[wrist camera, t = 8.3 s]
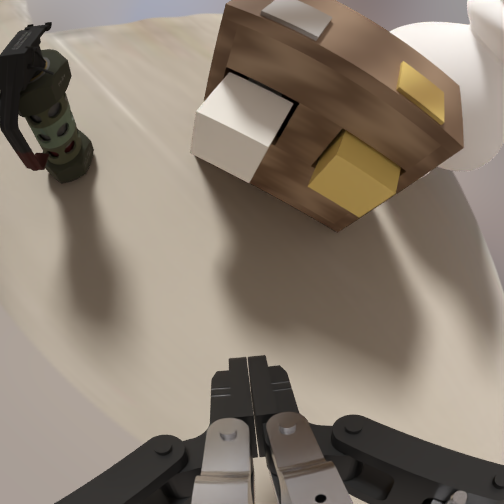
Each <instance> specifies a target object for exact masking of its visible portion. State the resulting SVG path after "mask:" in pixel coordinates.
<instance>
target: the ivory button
mask: <svg viewBox="0 0 504 504" xmlns="http://www.w3.org/2000/svg"><path fill="white" fill-rule="evenodd" d="M281 96H282V93H280V92H278V91H276V90H274V89H272V88H270V87H268V86H266V85H264V84H262V83H260V82H258V81H256V80H254V79H252V78H249V79H248V80H246V79H244V78H242V77H239V76H237V75H235V74H233V73H231V72H229V73H228V75H227V76H226V77H225V78H224V79H223V80H222V81H221V82H220V84H219V85H218V86H217V87H216V88H215V89H214V91H213V92H212V93H211V94H210V95H209V97H208V98H207V99H206V100H205V101H204V103H203V104H202V105H201V106H200V107H199V109H198V110H197V111H196V116H195V122H194V129H193V135H192V142H191V149H190V153H191V154H193V155H195V156H197V157H199V158H201V159H203V160H205V161H207V162H209V163H211V164H213V165H215V166H217V167H219V168H221V169H223V170H224V171H226V172H228V173H230V174H232V175H234V176H236V177H238V178H240V179H242V180H244V181H245V182H247V183H249V182H250V181H251V179H252V177H253V175H254V173H255V172H256V170H257V168H258V166H259V164H260V163H261V161H262V159H263V157H264V156H265V154H266V152H267V150H268V148H269V147H270V145H271V143H272V141H273V140H274V138H275V136H276V134H277V132H278V131H279V129H280V127H281V125H282V123H283V122H284V120H285V118H286V116H287V114H288V113H289V111H290V109H291V107H292V106H293V103H292V102H290V101H288V100H286V99H284V98H282V97H281Z"/></svg>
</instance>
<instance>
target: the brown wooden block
mask: <svg viewBox="0 0 504 504" xmlns="http://www.w3.org/2000/svg"><path fill="white" fill-rule="evenodd" d="M229 72H231V73H233V74H235V75H237V76H239V77H242V78H244V79H246V80H248V79H249V78H252V79H254V80H256V81H258V82H260V83H262V84H264V85H266V86H268V87H270V88H272V89H274V90H276V91H278V92H280V93H282V96H281V97H282V98H284V99H286V100H288V101H290V102H292V103H293V106H292V107H291V109H290V111H289V113H288V114H287V116H286V118H285V120H284V122H283V123H282V125H281V127H280V129H279V131H278V132H277V134H276V136H275V138H274V140H273V141H272V143H271V145H270V147H269V148H268V150H267V152H266V154H265V156H264V157H263V159H262V161H261V163H260V164H259V166H258V168H257V170H256V172H255V173H254V175H253V177H252V179H251V181H250V182H249V183H250V184H252V185H254V186H256V187H258V188H260V189H262V190H263V191H265V192H267V193H269V194H271V195H273V196H274V197H276V198H278V199H280V200H282V201H283V202H285V203H287V204H289V205H291V206H292V207H294V208H296V209H298V210H300V211H301V212H303V213H305V214H307V215H308V216H310V217H312V218H314V219H315V220H317V221H319V222H320V223H322V224H324V225H326V226H327V227H329V228H331V229H332V230H334V231H336V232H339V231H341V230H342V229H344V228H345V227H347V226H348V225H350V224H352V223H353V222H355V221H356V220H358V219H359V218H361V217H362V216H364V215H365V214H367V213H368V212H367V213H365V214H364V215H362V216H361V217H357V216H356V215H354V214H353V213H351V212H349V211H348V210H346V209H344V208H343V207H341V206H340V205H338V204H336V203H335V202H333V201H331V200H330V199H328V198H326V197H325V196H323V195H321V194H320V193H318V192H316V191H314V190H313V189H311V188H309V187H308V184H309V182H310V179H311V177H312V175H313V172H314V170H315V168H316V165H317V163H318V161H319V158H320V156H321V154H322V152H323V151H324V150H325V149H326V148H327V146H328V145H329V144H330V143H331V142H332V140H333V139H334V138H335V137H336V136H337V134H338V133H339V132H340V131H341V130H342V128H343V129H345V130H347V131H348V132H350V133H351V134H353V135H355V136H356V137H358V138H359V139H361V140H362V141H364V142H365V143H367V144H368V145H370V146H371V147H373V148H374V149H376V150H377V151H379V152H380V153H382V154H383V155H384V156H386V157H387V158H389V159H390V160H392V161H393V162H394V163H396V164H397V165H398V166H400V167H401V170H400V175H399V180H398V185H397V189H396V194H397V193H399V192H400V191H402V190H403V189H405V188H406V187H408V186H409V185H411V184H412V183H413V182H415V181H416V180H418V179H419V178H421V177H422V176H424V175H425V174H427V173H428V172H430V171H431V170H433V169H434V168H436V167H437V166H438V165H440V164H441V163H443V162H444V161H446V160H447V159H449V158H450V157H452V156H453V155H454V154H456V153H457V152H459V151H460V150H462V149H463V148H464V135H463V117H462V104H461V94H460V86H459V85H458V84H457V83H456V82H455V81H453V80H452V79H451V78H450V77H449V76H448V75H446V74H445V73H444V72H443V71H442V70H440V69H439V68H438V67H437V66H435V65H434V64H433V63H432V62H430V61H429V60H428V59H427V58H425V57H424V56H423V55H421V54H420V53H419V52H417V51H416V50H415V49H413V48H412V47H411V46H409V45H408V44H406V43H405V42H404V41H402V40H401V39H399V38H398V37H396V36H395V35H393V34H392V33H390V32H389V31H387V30H386V29H384V28H383V27H381V26H379V25H378V24H376V23H375V22H373V21H371V20H370V19H368V18H366V17H365V16H363V15H361V14H359V13H358V12H356V11H354V10H352V9H351V8H349V7H347V6H345V5H343V4H341V3H339V2H338V1H336V0H231V1H229V2H228V3H226V5H225V9H224V13H223V17H222V21H221V25H220V29H219V33H218V37H217V42H216V46H215V50H214V55H213V59H212V64H211V68H210V73H209V78H208V82H207V87H206V92H205V97H204V101H205V100H206V99H207V98H208V97H209V95H210V94H211V93H212V92H213V91H214V89H215V88H216V87H217V86H218V85H219V84H220V82H221V81H222V80H223V79H224V78H225V77H226V76H227V75H228V73H229ZM396 194H394V195H396ZM394 195H393V196H394ZM393 196H391V197H393ZM391 197H390V198H391ZM390 198H388V199H390ZM388 199H387V200H388ZM387 200H385V201H387ZM385 201H384V202H385ZM384 202H382V203H384ZM382 203H381V204H382ZM381 204H379V205H381ZM379 205H378V206H379ZM378 206H376V207H378ZM376 207H375V208H376ZM373 209H374V208H373ZM373 209H372V210H373ZM370 211H371V210H370ZM370 211H369V212H370Z"/></svg>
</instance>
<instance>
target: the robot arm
mask: <svg viewBox="0 0 504 504" xmlns="http://www.w3.org/2000/svg"><path fill="white" fill-rule="evenodd" d="M248 366H249V375H248V367H247V359H246V357H241V358H230V359H229V370H228V371H217V372H216V374H215V375H214V377H213V378H212V381H211V408H210V425H209V427H208V429H207V430H206V431H205V432H204V433H203V434H202V435H200V436H198V437H196V438H193V439H189V440H186V441H181V440H180V439H179V438H177V437H175V436H172V435H159V436H156V437H153V438H151V439H150V440H148V441H147V442H146V443H144V444H143V445H142V446H140V447H139V448H137V449H136V450H135V451H134V452H132V453H131V454H129V455H128V456H126V457H125V458H124V459H122V460H121V461H119V462H118V463H116V464H115V465H113V466H112V467H111V468H109V469H108V470H106V471H105V472H103V473H102V474H100V475H99V476H97V477H96V478H94V479H93V480H91V481H90V482H88V483H87V484H85V485H84V486H82V487H80V488H79V489H77V490H76V491H74V492H72V493H71V494H69V495H68V496H66V497H65V498H63V499H61V500H60V501H58V502H56V503H54V504H255V474H254V466H253V458H255V457H258V454H257V444H256V434H257V441H258V448H259V456H260V457H266V463H267V467H268V469H269V474H270V478H271V481H272V485H273V489H274V492H275V496H276V499H277V503H278V504H353V502H352V500H351V498H350V496H349V494H350V495H352V496H354V497H356V498H358V499H360V500H362V501H364V502H366V503H369V504H504V465H500V464H497V463H493V462H489V461H486V460H482V459H479V458H475V457H472V456H469V455H466V454H462V453H459V452H456V451H453V450H450V449H447V448H444V447H441V446H438V445H435V444H433V443H430V442H427V441H424V440H421V439H419V438H416V437H413V436H411V435H408V434H405V433H403V432H400V431H398V430H395V429H393V428H390V427H388V426H385V425H383V424H380V423H378V422H375V421H373V420H371V419H368V418H366V417H364V416H360V415H347V416H343V417H341V418H339V419H338V420H337V421H336V422H335V423H334V425H333V426H321V425H314V424H311V423H309V422H308V421H307V419H306V418H305V417H304V416H302V415H301V414H299V411H298V407H297V404H296V401H295V397H294V394H293V391H292V389H291V384H290V382H289V378H288V375H287V372H286V371H285V370H284V369H283V368H282V367H281V366H280V365H279V366H270V367H268V365H267V360H266V356H265V355H262V356H252V357H248ZM249 376H250V383H249ZM250 387H251V391H250ZM251 396H252V399H251ZM252 404H253V406H252ZM253 412H254V414H253ZM254 419H255V424H254ZM255 426H256V434H255Z"/></svg>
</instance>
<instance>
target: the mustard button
mask: <svg viewBox="0 0 504 504" xmlns="http://www.w3.org/2000/svg"><path fill="white" fill-rule="evenodd" d="M400 170H401V167H400V166H398V165H397V164H396V163H394V162H393V161H392V160H390V159H389V158H387V157H386V156H384V155H383V154H382V153H380V152H379V151H377V150H376V149H374V148H373V147H371V146H370V145H368V144H367V143H365V142H364V141H362V140H361V139H359V138H358V137H356V136H355V135H353V134H351V133H350V132H348V131H347V130H345V129H343V128H342V130H341V131H340V132H339V133H338V134H337V136H336V137H335V138H334V139H333V140H332V142H331V143H330V144H329V145H328V146H327V148H326V149H325V150H324V151H323V152H322V154H321V156H320V158H319V161H318V163H317V165H316V168H315V170H314V172H313V175H312V177H311V179H310V182H309V184H308V187H309V188H311V189H313V190H314V191H316V192H318V193H320V194H321V195H323V196H325V197H326V198H328V199H330V200H331V201H333V202H335V203H336V204H338V205H340V206H341V207H343V208H344V209H346V210H348V211H349V212H351V213H353V214H354V215H356V216H357V217H361V216H362V215H364V214H365V213H367V212H369V211H370V210H372V209H373V208H375V207H376V206H378V205H379V204H381V203H382V202H384V201H385V200H387V199H388V198H390V197H391V196H393V195H394V194H396V189H397V185H398V180H399V175H400Z"/></svg>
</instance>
